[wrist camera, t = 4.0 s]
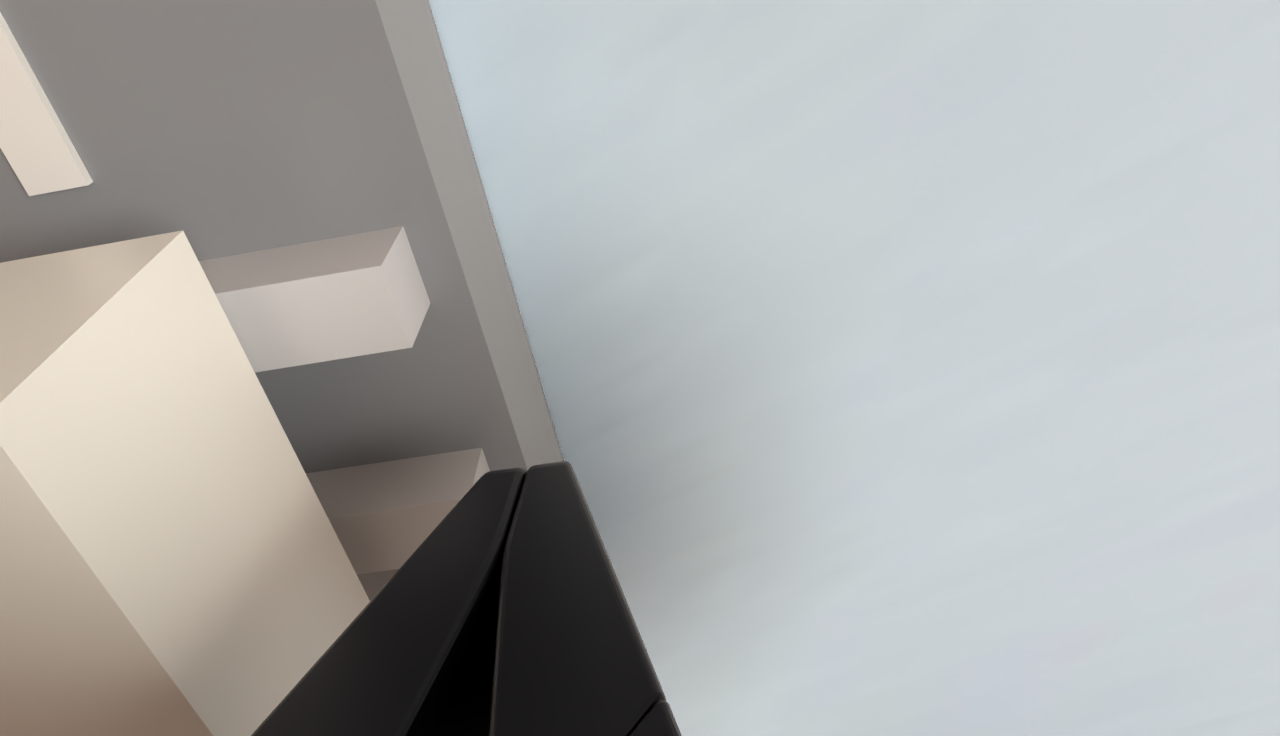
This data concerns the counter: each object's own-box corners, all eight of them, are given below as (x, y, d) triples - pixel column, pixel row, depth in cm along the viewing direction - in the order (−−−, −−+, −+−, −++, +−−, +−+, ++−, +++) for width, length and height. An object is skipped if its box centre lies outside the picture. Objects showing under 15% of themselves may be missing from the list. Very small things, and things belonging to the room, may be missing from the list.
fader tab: (232, 182, 9) (-19, 420, 6) (413, 579, 12) (323, 887, 9) (-110, 245, 10) (-542, 502, 6) (152, 614, 13) (-33, 922, 9)
